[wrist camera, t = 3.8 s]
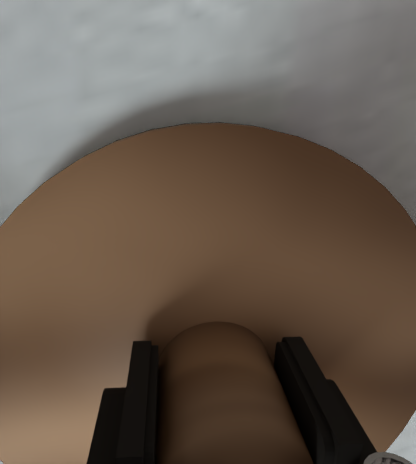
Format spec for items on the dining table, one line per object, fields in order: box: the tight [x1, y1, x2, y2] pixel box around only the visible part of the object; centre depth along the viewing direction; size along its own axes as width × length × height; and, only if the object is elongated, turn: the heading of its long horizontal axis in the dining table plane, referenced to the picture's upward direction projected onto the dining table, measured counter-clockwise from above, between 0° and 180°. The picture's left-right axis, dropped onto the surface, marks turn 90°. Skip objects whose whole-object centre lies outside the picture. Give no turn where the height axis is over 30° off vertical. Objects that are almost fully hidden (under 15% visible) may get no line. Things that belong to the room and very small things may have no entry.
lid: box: [0, 122, 416, 464], centre depth 11 cm, size 15×15×5 cm
